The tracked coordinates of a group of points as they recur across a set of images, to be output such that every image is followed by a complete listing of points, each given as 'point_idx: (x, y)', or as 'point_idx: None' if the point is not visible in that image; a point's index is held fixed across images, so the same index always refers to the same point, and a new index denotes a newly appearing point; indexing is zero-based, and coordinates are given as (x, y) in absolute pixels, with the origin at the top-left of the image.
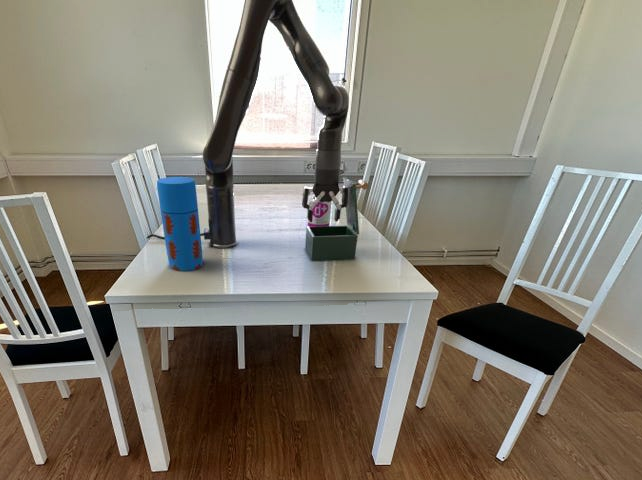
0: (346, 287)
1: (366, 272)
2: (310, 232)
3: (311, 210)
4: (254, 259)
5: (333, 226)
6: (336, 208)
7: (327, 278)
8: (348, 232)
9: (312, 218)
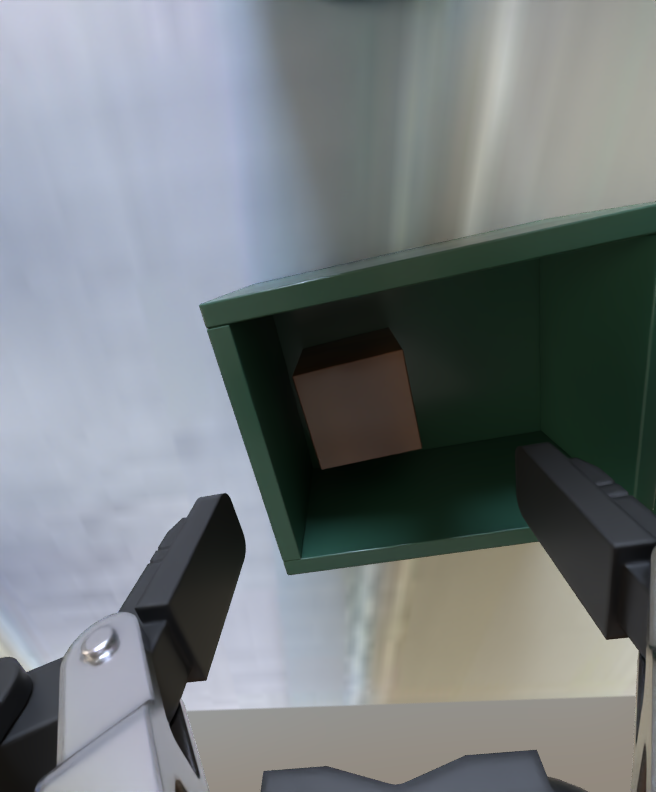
0: (436, 683)
1: (554, 575)
2: (258, 481)
3: (182, 678)
4: (15, 479)
5: (497, 264)
6: (626, 584)
7: (374, 631)
8: (622, 330)
9: (236, 582)
